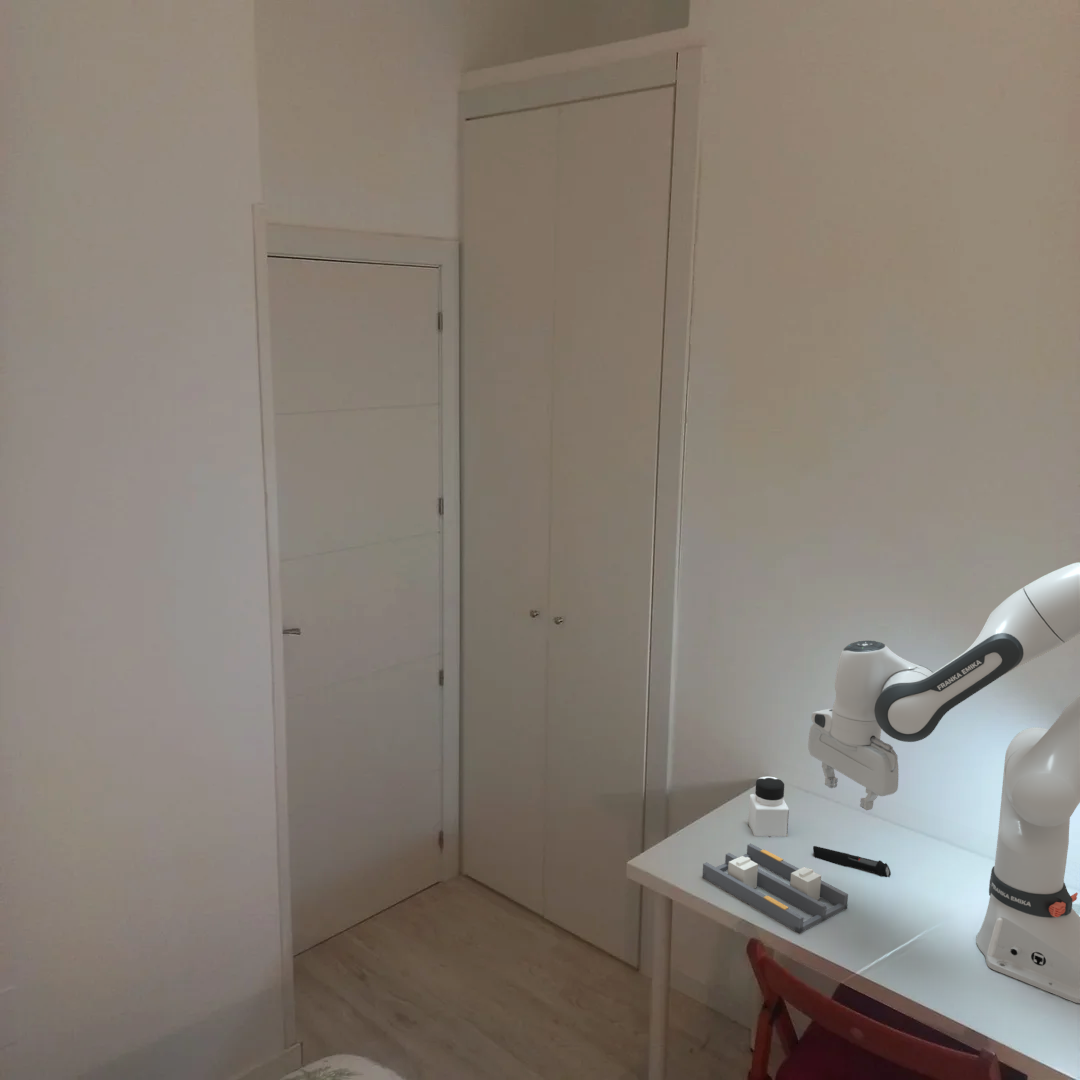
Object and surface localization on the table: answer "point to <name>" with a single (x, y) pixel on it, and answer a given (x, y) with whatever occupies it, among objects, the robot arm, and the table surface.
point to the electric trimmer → (852, 861)
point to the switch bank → (777, 891)
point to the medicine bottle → (768, 808)
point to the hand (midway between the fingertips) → (848, 797)
